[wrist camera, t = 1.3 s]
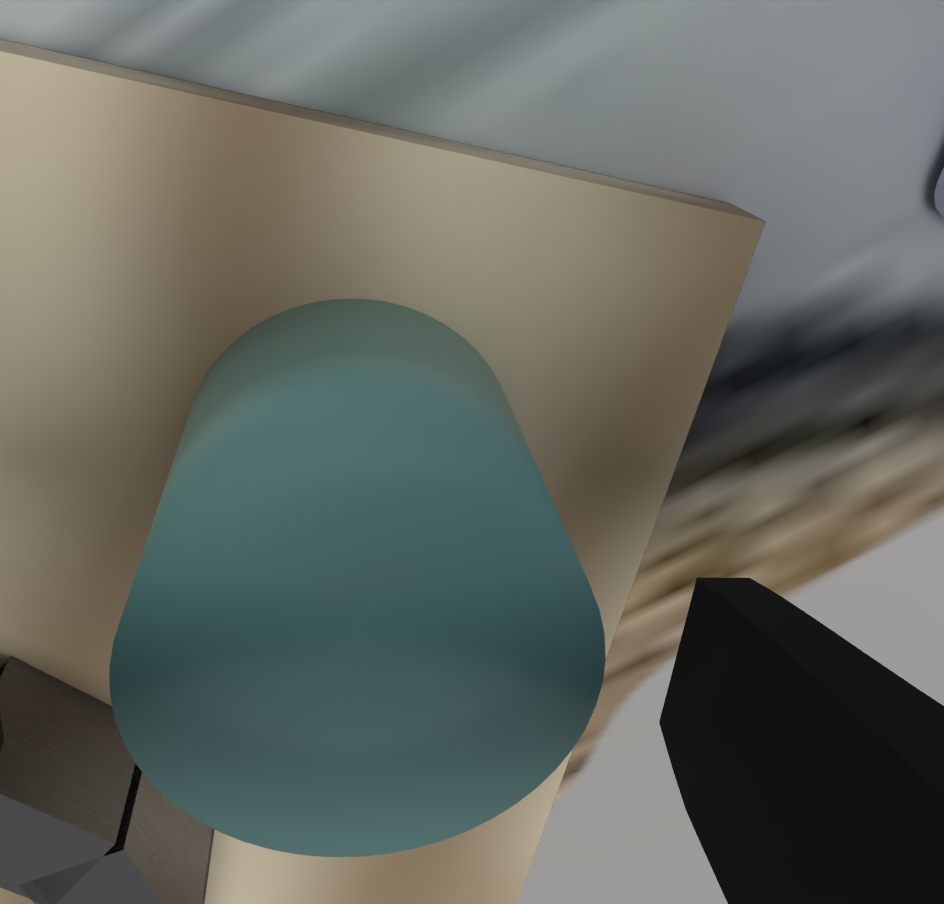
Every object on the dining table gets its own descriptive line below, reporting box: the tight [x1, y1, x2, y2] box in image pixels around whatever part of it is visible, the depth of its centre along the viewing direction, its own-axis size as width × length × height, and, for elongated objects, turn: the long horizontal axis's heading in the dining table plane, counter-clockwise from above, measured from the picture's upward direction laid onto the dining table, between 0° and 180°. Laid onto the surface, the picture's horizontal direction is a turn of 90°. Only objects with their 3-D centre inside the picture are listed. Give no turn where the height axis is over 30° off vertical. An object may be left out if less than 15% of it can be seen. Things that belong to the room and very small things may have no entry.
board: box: [0, 39, 765, 904], centre depth 15 cm, size 16×20×1 cm
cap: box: [109, 299, 605, 857], centre depth 11 cm, size 5×5×5 cm
